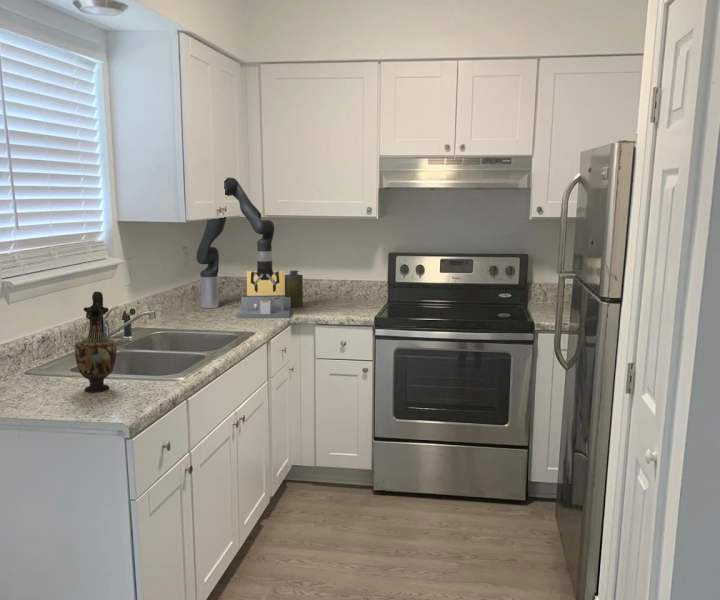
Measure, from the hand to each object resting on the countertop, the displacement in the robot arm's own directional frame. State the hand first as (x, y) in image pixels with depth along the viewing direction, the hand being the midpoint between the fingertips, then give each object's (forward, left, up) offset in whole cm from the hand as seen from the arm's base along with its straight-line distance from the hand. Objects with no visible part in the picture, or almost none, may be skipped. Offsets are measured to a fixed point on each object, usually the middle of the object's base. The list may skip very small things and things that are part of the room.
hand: (265, 292), depth 308 cm
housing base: (-7, -1, -13) cm, 15 cm away
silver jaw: (0, 0, -11) cm, 11 cm away
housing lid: (-17, -1, +2) cm, 17 cm away
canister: (-34, +13, -13) cm, 39 cm away
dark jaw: (-10, +5, -11) cm, 16 cm away
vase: (+120, -42, -13) cm, 128 cm away
